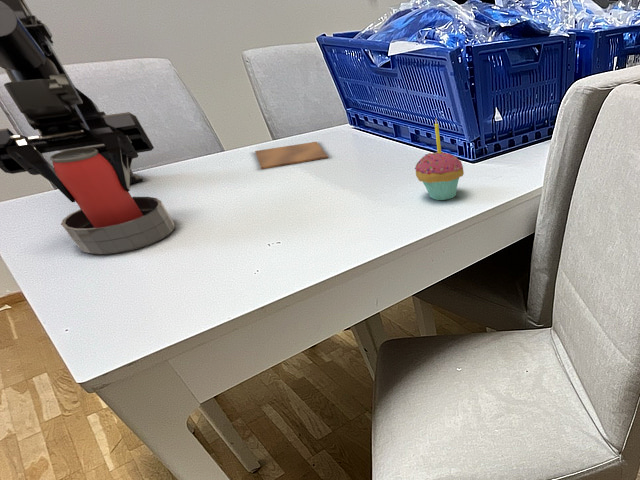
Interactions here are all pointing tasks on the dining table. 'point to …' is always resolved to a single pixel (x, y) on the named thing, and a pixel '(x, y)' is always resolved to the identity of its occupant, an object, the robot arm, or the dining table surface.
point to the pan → (121, 229)
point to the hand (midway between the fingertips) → (100, 195)
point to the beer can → (95, 187)
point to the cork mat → (290, 155)
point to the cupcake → (439, 172)
